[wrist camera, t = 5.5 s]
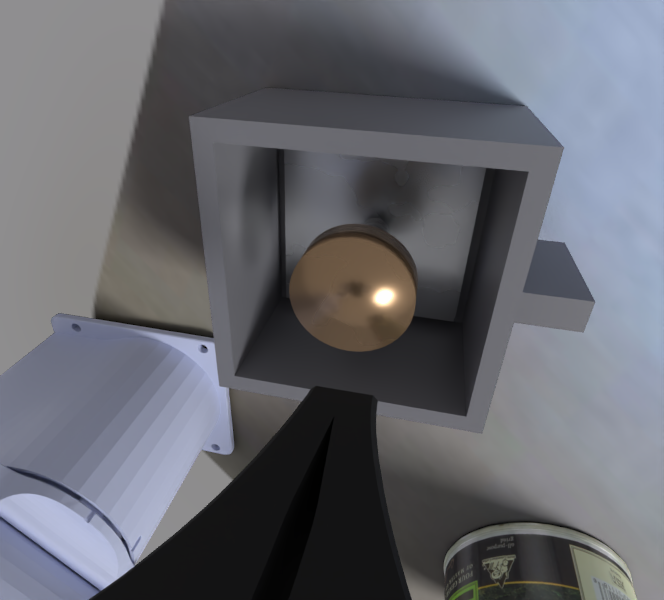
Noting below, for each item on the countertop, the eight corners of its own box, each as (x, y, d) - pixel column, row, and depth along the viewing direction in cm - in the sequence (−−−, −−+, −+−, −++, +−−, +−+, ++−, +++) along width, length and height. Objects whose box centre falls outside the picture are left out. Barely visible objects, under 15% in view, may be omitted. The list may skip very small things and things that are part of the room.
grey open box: (272, 300, 22) (219, 386, 17) (266, 87, 17) (188, 116, 12) (522, 337, 20) (547, 445, 15) (591, 110, 15) (661, 155, 10)
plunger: (290, 290, 21) (240, 375, 16) (288, 121, 17) (223, 163, 12) (454, 313, 19) (455, 412, 15) (490, 138, 16) (508, 191, 11)
